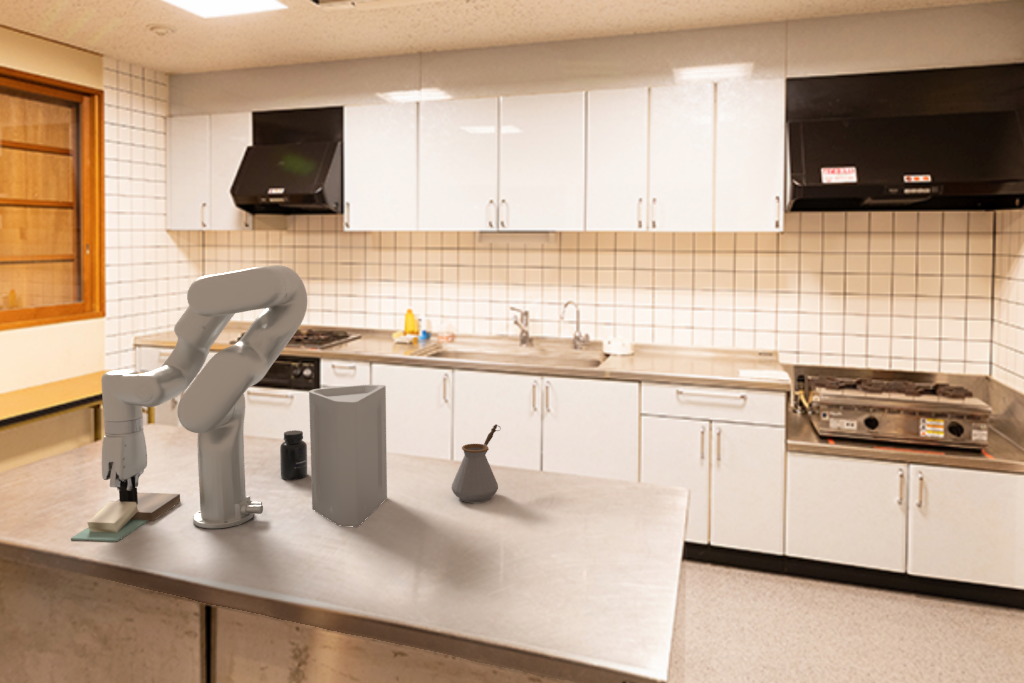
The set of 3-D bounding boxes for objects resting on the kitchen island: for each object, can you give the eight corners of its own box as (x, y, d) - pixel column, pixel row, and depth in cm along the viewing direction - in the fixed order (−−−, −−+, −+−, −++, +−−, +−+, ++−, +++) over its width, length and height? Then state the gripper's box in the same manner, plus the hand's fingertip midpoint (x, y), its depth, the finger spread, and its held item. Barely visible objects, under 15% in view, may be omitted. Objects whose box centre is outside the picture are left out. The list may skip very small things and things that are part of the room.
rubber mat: (146, 521, 157) (146, 519, 157) (117, 541, 146) (117, 539, 146) (103, 520, 158) (103, 518, 158) (70, 539, 147) (70, 538, 147)
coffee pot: (488, 508, 167) (488, 447, 165) (443, 502, 171) (443, 442, 169) (517, 481, 187) (517, 425, 185) (476, 475, 191) (477, 421, 189)
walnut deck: (180, 501, 169) (179, 493, 169) (152, 521, 157) (151, 512, 157) (131, 500, 170) (131, 492, 170) (99, 519, 158) (99, 510, 158)
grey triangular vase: (331, 493, 176) (328, 382, 173) (388, 497, 174) (386, 385, 170) (295, 522, 158) (291, 399, 154) (358, 527, 155) (355, 402, 151)
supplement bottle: (303, 480, 185) (301, 436, 184) (277, 480, 185) (275, 435, 184) (311, 472, 192) (309, 429, 190) (286, 471, 192) (284, 428, 191)
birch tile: (138, 511, 158) (136, 502, 157) (116, 532, 150) (114, 523, 149) (112, 510, 158) (109, 501, 157) (89, 531, 150) (87, 522, 150)
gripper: (128, 417, 164) (132, 493, 166) (85, 434, 149) (91, 517, 152) (159, 418, 163) (163, 494, 166) (119, 435, 149) (124, 519, 151)
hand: (129, 505), depth 159 cm, fingers closed
